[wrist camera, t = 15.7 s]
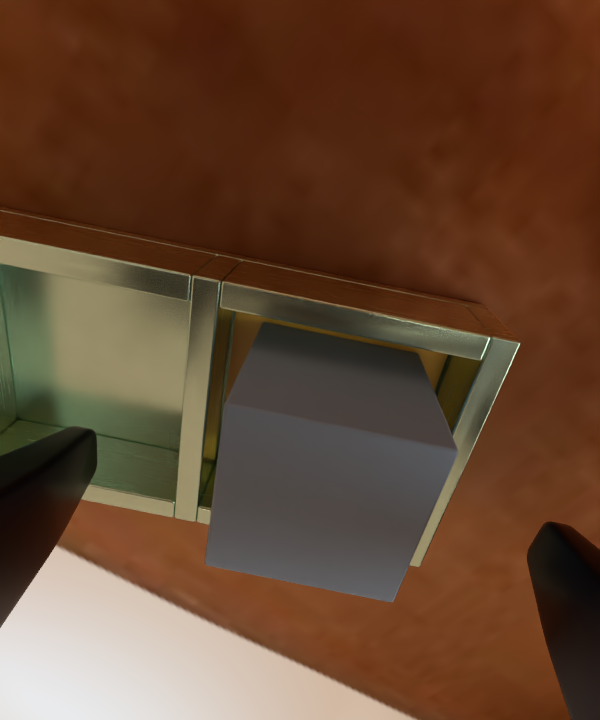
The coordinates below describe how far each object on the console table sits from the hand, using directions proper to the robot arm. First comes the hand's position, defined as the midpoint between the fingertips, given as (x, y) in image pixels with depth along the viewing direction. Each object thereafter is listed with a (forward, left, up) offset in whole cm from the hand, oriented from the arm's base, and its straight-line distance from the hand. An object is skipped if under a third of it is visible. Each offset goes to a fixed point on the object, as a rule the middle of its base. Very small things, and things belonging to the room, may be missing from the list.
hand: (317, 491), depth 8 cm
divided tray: (+1, +3, -4) cm, 5 cm away
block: (0, 0, -3) cm, 3 cm away
